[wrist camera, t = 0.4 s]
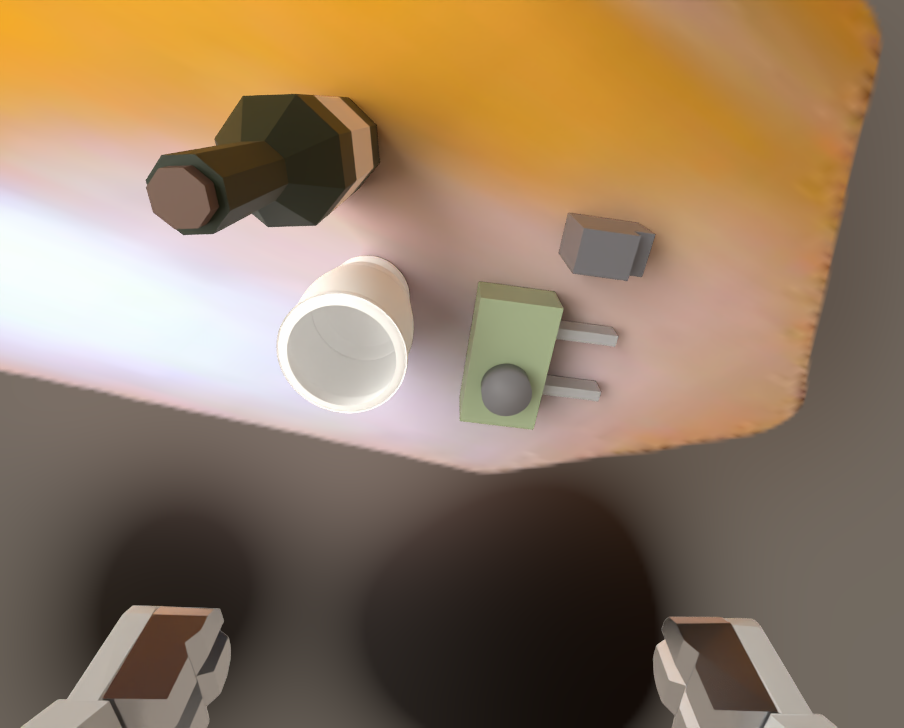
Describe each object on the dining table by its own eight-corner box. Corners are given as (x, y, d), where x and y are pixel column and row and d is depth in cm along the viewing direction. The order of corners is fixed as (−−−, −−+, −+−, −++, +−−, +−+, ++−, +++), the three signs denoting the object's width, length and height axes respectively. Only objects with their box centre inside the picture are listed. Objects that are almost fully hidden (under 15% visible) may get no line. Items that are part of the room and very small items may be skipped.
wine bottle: (353, 76, 44) (199, 34, 18) (397, 169, 48) (323, 251, 21) (273, 120, 46) (19, 141, 19) (320, 207, 49) (162, 327, 23)
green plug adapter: (478, 281, 53) (481, 305, 46) (619, 300, 54) (641, 326, 47) (459, 397, 59) (459, 431, 53) (586, 412, 60) (601, 448, 54)
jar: (311, 248, 51) (260, 299, 38) (413, 240, 51) (398, 288, 37) (331, 344, 56) (292, 419, 43) (424, 337, 56) (415, 410, 42)
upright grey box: (567, 212, 50) (584, 228, 43) (637, 222, 50) (663, 239, 44) (558, 252, 51) (572, 273, 45) (626, 262, 52) (649, 283, 46)
